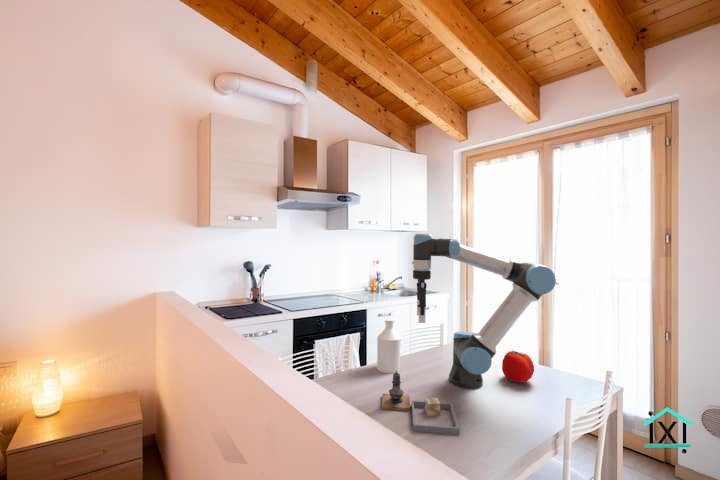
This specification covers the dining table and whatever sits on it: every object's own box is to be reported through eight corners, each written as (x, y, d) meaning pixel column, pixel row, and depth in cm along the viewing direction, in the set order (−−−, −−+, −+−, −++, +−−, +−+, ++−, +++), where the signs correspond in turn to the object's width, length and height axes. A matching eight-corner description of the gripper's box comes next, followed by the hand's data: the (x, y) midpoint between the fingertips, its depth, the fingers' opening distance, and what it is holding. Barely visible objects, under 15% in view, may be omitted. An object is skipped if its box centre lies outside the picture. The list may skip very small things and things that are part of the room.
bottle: (384, 362, 188) (385, 315, 188) (404, 368, 181) (405, 319, 181) (372, 369, 178) (373, 319, 178) (392, 375, 171) (393, 323, 171)
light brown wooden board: (409, 398, 147) (409, 395, 147) (410, 411, 136) (410, 408, 136) (382, 396, 148) (382, 393, 148) (381, 409, 138) (381, 406, 137)
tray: (451, 408, 139) (451, 403, 139) (459, 434, 121) (459, 428, 121) (411, 405, 141) (411, 400, 141) (413, 430, 123) (413, 425, 122)
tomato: (497, 374, 175) (497, 346, 175) (525, 375, 175) (526, 347, 174) (509, 387, 159) (510, 357, 159) (540, 388, 159) (541, 358, 159)
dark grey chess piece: (390, 404, 139) (390, 373, 139) (387, 397, 145) (388, 368, 145) (404, 403, 140) (405, 373, 140) (401, 397, 146) (402, 367, 145)
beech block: (436, 409, 138) (436, 398, 138) (439, 415, 134) (440, 403, 134) (425, 409, 138) (425, 398, 138) (428, 415, 133) (428, 403, 133)
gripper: (412, 267, 165) (411, 312, 166) (414, 272, 141) (413, 325, 141) (428, 267, 165) (427, 313, 165) (433, 272, 140) (432, 326, 140)
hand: (420, 319), depth 153 cm, fingers open, 13 cm apart
